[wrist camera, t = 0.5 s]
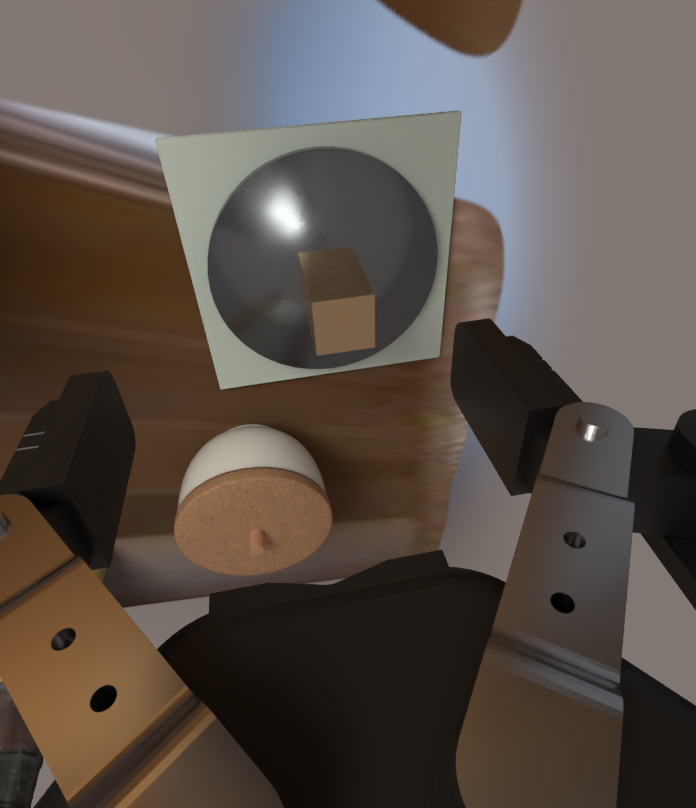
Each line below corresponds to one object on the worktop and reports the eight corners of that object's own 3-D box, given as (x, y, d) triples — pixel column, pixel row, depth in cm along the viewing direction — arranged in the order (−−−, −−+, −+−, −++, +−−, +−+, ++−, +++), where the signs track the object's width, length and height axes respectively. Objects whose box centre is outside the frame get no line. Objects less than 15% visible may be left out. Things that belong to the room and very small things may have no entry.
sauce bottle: (69, 516, 42) (-15, 820, 27) (125, 550, 46) (79, 831, 31) (7, 549, 43) (-107, 858, 28) (67, 579, 47) (-5, 865, 32)
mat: (156, 138, 26) (155, 140, 26) (458, 110, 28) (461, 112, 27) (220, 386, 36) (220, 389, 36) (437, 353, 38) (439, 356, 38)
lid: (180, 159, 26) (171, 204, 21) (442, 134, 28) (491, 170, 23) (232, 375, 35) (234, 443, 30) (427, 347, 37) (460, 407, 32)
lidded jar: (210, 510, 44) (208, 611, 37) (156, 422, 37) (142, 527, 30) (329, 476, 45) (350, 571, 38) (298, 384, 38) (317, 478, 30)
